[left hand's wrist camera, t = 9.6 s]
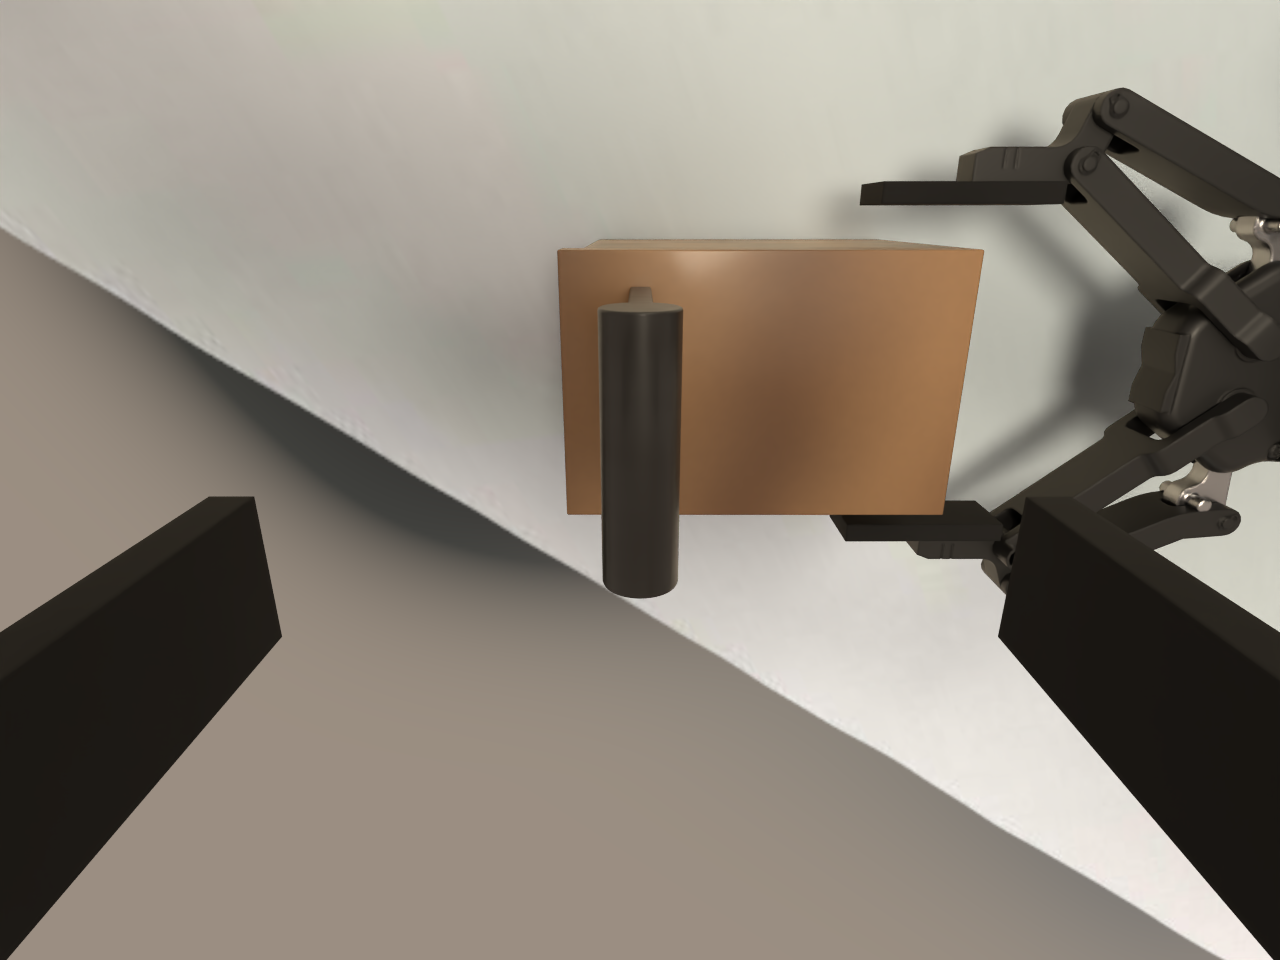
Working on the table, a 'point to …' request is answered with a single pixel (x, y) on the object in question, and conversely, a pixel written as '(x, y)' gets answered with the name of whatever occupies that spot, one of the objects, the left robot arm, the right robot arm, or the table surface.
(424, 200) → the table surface
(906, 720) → the table surface
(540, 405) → the table surface
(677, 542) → the lid
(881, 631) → the table surface
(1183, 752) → the left robot arm
